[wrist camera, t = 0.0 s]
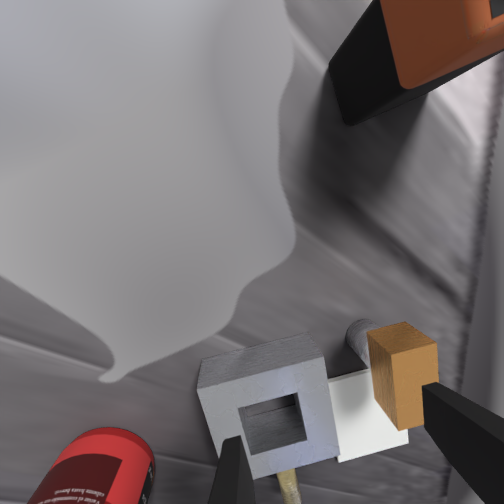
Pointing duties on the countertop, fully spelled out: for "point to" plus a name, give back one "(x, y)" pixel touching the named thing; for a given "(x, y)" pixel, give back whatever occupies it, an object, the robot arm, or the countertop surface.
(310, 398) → the hollow block with rod
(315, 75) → the countertop surface
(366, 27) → the battery
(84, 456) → the canned food
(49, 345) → the countertop surface
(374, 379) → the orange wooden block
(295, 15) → the countertop surface
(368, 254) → the countertop surface
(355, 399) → the mat
